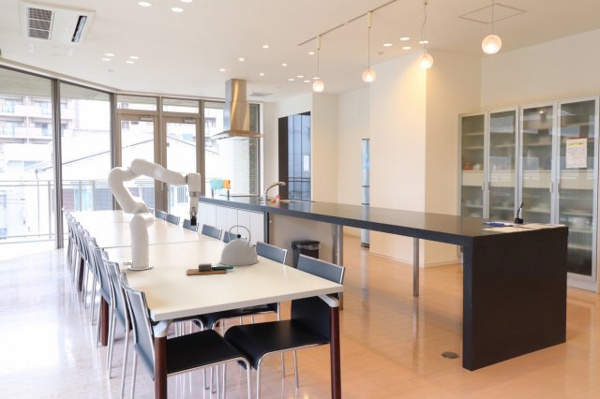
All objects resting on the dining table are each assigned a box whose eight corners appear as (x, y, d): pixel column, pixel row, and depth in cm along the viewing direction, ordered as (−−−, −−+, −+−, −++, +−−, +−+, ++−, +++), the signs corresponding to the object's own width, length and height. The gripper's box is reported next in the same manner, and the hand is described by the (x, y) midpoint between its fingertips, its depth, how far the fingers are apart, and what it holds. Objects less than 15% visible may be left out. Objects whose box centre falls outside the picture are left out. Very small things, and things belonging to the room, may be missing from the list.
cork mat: (187, 275, 245) (187, 273, 245) (188, 270, 257) (188, 269, 256) (225, 273, 249) (225, 272, 249) (224, 269, 261) (224, 267, 261)
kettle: (268, 261, 284) (267, 225, 283) (243, 267, 265) (243, 228, 264) (237, 257, 298) (237, 222, 297) (212, 262, 280) (212, 225, 278)
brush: (198, 271, 250) (198, 265, 250) (198, 270, 254) (198, 263, 254) (233, 270, 254) (233, 263, 254) (233, 268, 258) (233, 262, 258)
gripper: (187, 193, 267) (187, 223, 268) (186, 195, 250) (186, 226, 251) (200, 193, 268) (200, 223, 269) (200, 195, 251) (200, 226, 252)
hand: (193, 224), depth 260 cm, fingers open, 9 cm apart
